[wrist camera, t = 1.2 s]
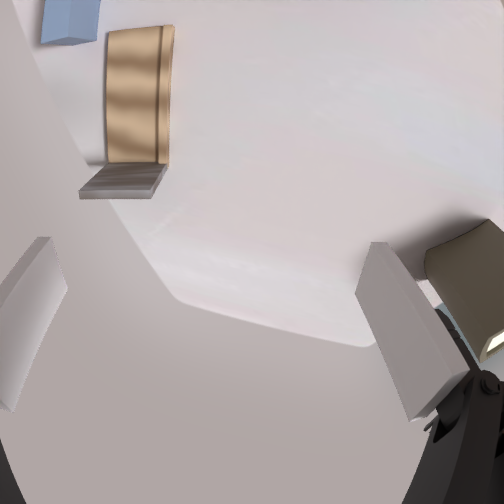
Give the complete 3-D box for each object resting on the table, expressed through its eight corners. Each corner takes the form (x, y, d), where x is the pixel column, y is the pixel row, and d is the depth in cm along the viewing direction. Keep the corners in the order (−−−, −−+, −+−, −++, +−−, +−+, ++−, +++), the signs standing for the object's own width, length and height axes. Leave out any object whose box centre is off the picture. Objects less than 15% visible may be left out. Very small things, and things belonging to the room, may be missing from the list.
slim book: (78, -13, 27) (49, -24, 19) (103, -18, 28) (77, -33, 20) (72, 45, 33) (40, 43, 25) (96, 40, 34) (67, 36, 25)
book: (424, 279, 66) (478, 367, 43) (422, 250, 62) (486, 342, 38) (487, 247, 62) (547, 319, 39) (489, 218, 57) (559, 290, 34)
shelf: (112, 32, 33) (74, 23, 22) (174, 27, 35) (155, 10, 23) (112, 166, 46) (79, 199, 35) (169, 166, 47) (150, 199, 36)
